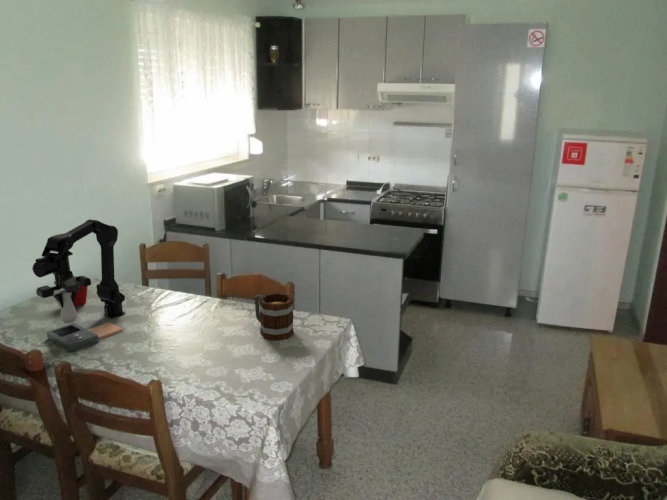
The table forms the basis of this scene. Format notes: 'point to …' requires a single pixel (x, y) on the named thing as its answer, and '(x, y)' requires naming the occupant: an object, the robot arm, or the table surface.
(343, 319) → the table surface
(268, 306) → the mug
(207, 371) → the table surface
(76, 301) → the plastic cup
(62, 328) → the grey rectangular device
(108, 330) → the terracotta coaster
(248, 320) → the table surface
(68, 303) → the salt shaker
